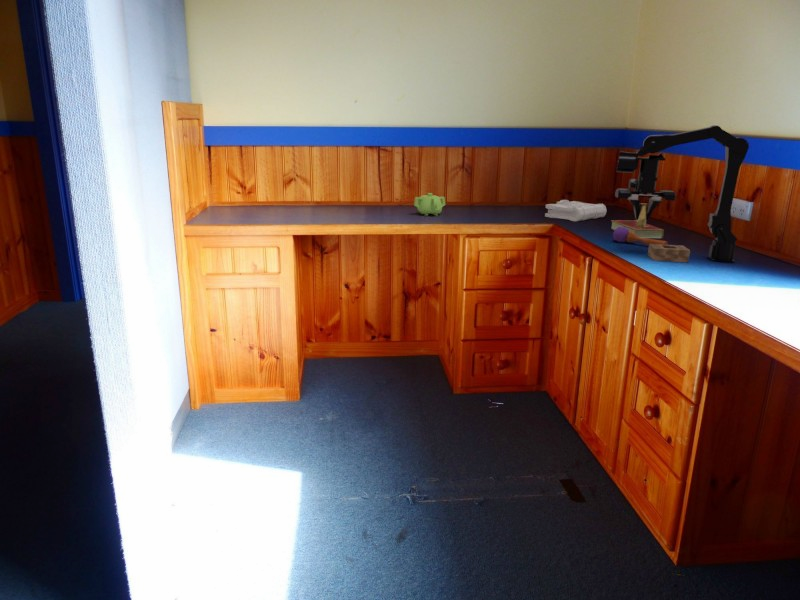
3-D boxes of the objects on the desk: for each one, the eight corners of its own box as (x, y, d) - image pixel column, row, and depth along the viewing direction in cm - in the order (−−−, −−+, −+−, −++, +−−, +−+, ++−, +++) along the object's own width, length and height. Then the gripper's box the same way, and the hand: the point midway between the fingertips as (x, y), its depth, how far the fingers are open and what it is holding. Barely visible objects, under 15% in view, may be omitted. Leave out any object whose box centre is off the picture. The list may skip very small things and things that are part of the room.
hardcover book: (636, 229, 263) (638, 219, 261) (662, 239, 243) (664, 228, 242) (609, 229, 261) (611, 219, 260) (634, 239, 241) (635, 228, 240)
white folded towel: (612, 217, 292) (613, 201, 290) (578, 223, 274) (579, 205, 272) (577, 212, 306) (578, 197, 304) (542, 217, 288) (543, 201, 286)
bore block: (681, 257, 210) (683, 245, 209) (688, 262, 203) (690, 250, 202) (647, 255, 212) (649, 243, 211) (653, 260, 204) (655, 248, 203)
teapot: (445, 214, 286) (446, 193, 283) (436, 217, 276) (437, 195, 273) (422, 212, 291) (423, 191, 288) (412, 215, 281) (413, 193, 278)
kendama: (662, 240, 218) (610, 227, 232) (660, 256, 221) (609, 242, 234) (670, 235, 222) (619, 223, 235) (667, 250, 225) (617, 237, 238)
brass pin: (644, 226, 215) (647, 203, 212) (646, 228, 212) (649, 204, 209) (635, 226, 215) (638, 203, 213) (636, 227, 212) (640, 204, 210)
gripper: (670, 172, 215) (663, 217, 219) (615, 170, 217) (609, 214, 221) (679, 175, 204) (672, 222, 209) (621, 173, 206) (615, 219, 211)
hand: (641, 219), depth 213 cm, fingers closed on brass pin, 3 cm apart
